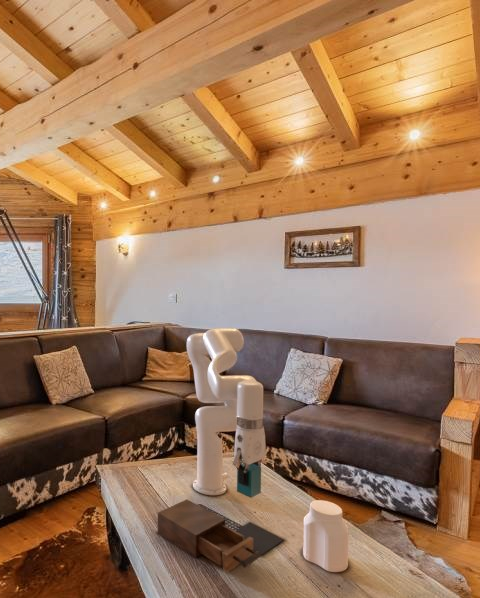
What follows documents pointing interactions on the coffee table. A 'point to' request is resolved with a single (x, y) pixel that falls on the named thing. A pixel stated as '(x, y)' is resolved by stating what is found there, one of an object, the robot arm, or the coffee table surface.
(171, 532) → the cabinet
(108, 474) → the coffee table surface
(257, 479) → the box
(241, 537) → the drawer
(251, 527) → the mat
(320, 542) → the jar
